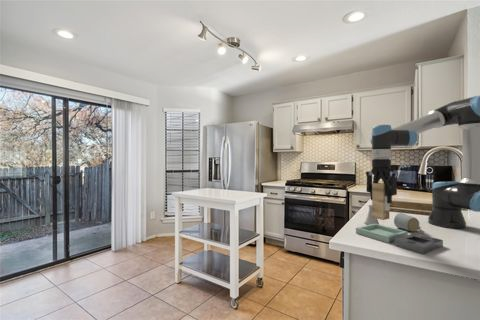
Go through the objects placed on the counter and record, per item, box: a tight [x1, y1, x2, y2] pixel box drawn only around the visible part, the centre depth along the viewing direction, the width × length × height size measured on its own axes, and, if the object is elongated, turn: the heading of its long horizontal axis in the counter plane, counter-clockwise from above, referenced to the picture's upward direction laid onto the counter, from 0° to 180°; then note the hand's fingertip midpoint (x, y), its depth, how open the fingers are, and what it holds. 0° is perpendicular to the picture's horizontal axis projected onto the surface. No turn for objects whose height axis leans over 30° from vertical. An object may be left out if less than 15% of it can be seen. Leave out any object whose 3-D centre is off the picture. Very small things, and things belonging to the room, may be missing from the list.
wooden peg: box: [371, 182, 390, 221], centre depth 107 cm, size 5×5×16 cm
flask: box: [364, 204, 380, 225], centre depth 125 cm, size 7×7×10 cm
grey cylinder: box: [393, 212, 422, 233], centre depth 115 cm, size 11×8×8 cm
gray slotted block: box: [393, 232, 444, 255], centre depth 94 cm, size 16×10×3 cm, turn 119°
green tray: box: [355, 223, 409, 244], centre depth 107 cm, size 15×15×2 cm
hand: (380, 208), depth 107 cm, fingers closed on wooden peg, 5 cm apart
